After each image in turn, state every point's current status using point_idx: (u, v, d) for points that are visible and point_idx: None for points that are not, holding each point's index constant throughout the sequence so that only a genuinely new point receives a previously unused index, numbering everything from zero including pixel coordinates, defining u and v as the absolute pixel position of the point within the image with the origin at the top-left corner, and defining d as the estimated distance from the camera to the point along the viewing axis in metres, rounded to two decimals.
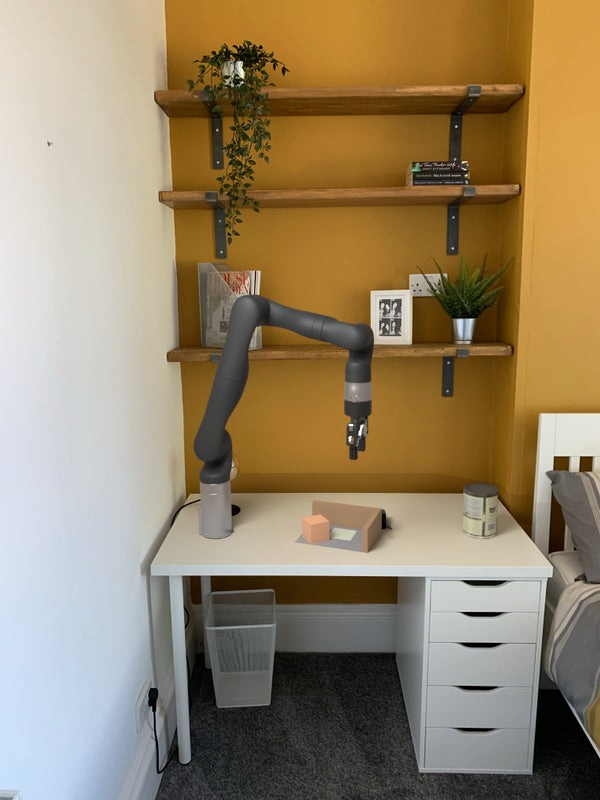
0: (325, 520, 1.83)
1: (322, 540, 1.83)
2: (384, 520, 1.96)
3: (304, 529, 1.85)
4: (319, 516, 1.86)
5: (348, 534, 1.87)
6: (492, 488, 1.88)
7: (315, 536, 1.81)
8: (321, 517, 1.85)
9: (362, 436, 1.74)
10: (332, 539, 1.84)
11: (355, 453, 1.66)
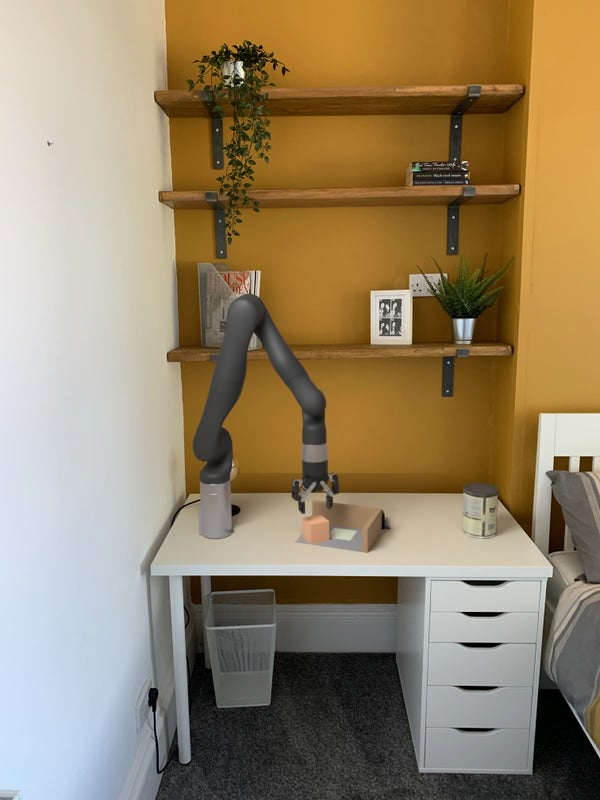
0: (325, 520, 1.83)
1: (322, 540, 1.83)
2: (383, 520, 1.96)
3: (304, 529, 1.85)
4: (319, 516, 1.86)
5: (348, 534, 1.87)
6: (492, 488, 1.88)
7: (315, 536, 1.81)
8: (321, 517, 1.85)
9: None
10: (332, 539, 1.84)
11: None
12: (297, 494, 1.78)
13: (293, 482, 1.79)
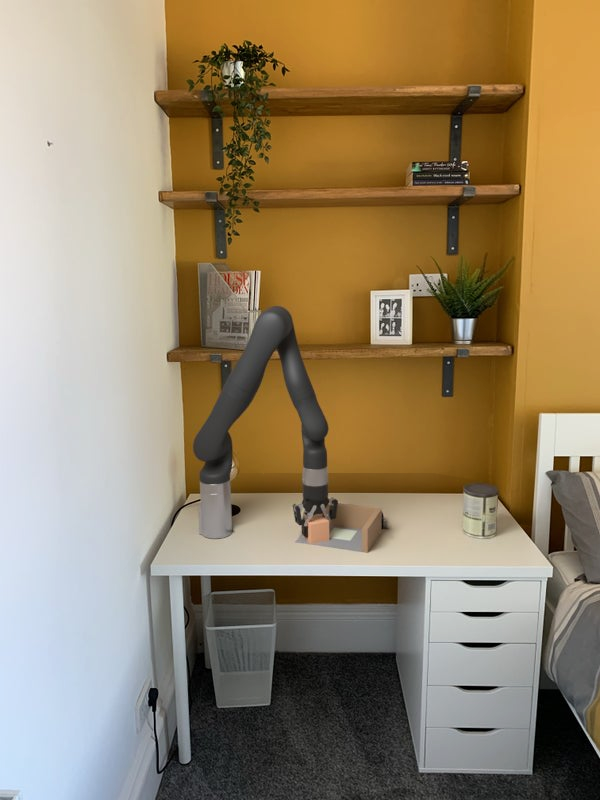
0: (325, 520, 1.83)
1: (322, 540, 1.83)
2: None
3: None
4: (319, 516, 1.86)
5: (348, 534, 1.87)
6: (492, 488, 1.88)
7: (315, 536, 1.81)
8: (321, 517, 1.85)
9: None
10: (332, 539, 1.84)
11: None
12: (300, 519, 1.80)
13: (294, 508, 1.81)
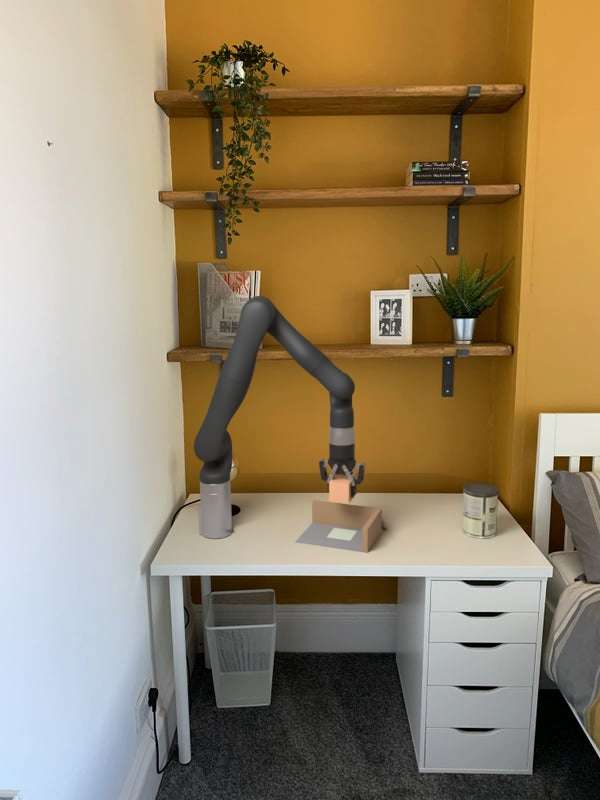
0: (347, 482, 1.82)
1: (341, 501, 1.83)
2: None
3: None
4: None
5: (348, 534, 1.87)
6: (492, 488, 1.88)
7: (333, 495, 1.83)
8: (348, 480, 1.84)
9: None
10: (332, 539, 1.84)
11: None
12: (322, 474, 1.85)
13: None
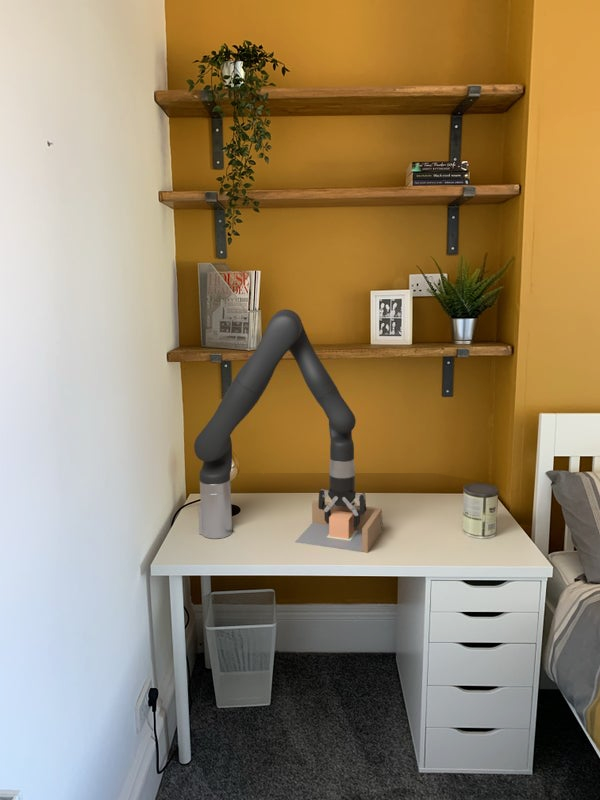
0: (347, 518, 1.84)
1: (341, 536, 1.85)
2: None
3: None
4: (349, 514, 1.87)
5: None
6: (492, 488, 1.88)
7: (333, 530, 1.85)
8: (348, 515, 1.86)
9: (329, 509, 1.88)
10: (332, 539, 1.84)
11: None
12: (320, 503, 1.87)
13: None
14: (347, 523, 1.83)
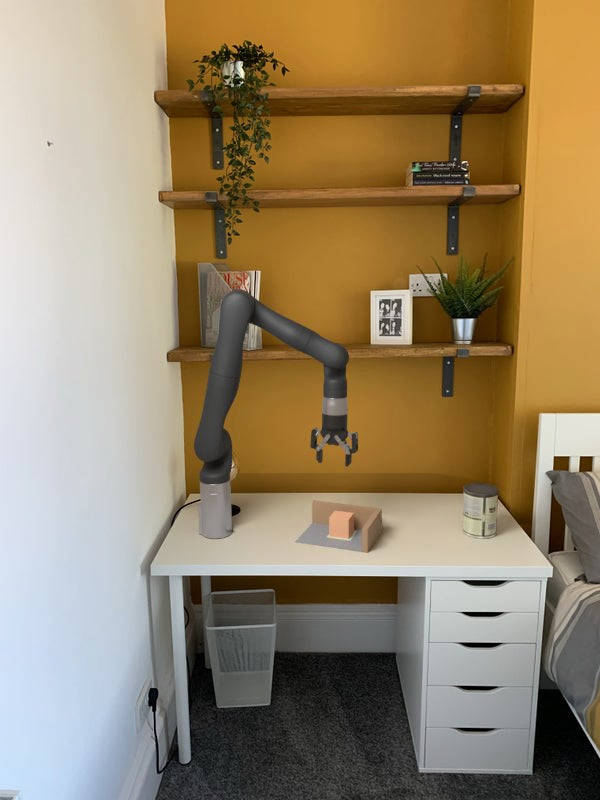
0: (347, 518, 1.84)
1: (341, 536, 1.85)
2: None
3: None
4: (349, 514, 1.87)
5: None
6: (492, 488, 1.88)
7: (333, 530, 1.85)
8: (348, 515, 1.86)
9: (321, 448, 1.87)
10: (332, 539, 1.84)
11: None
12: (313, 442, 1.86)
13: None
14: (347, 523, 1.83)
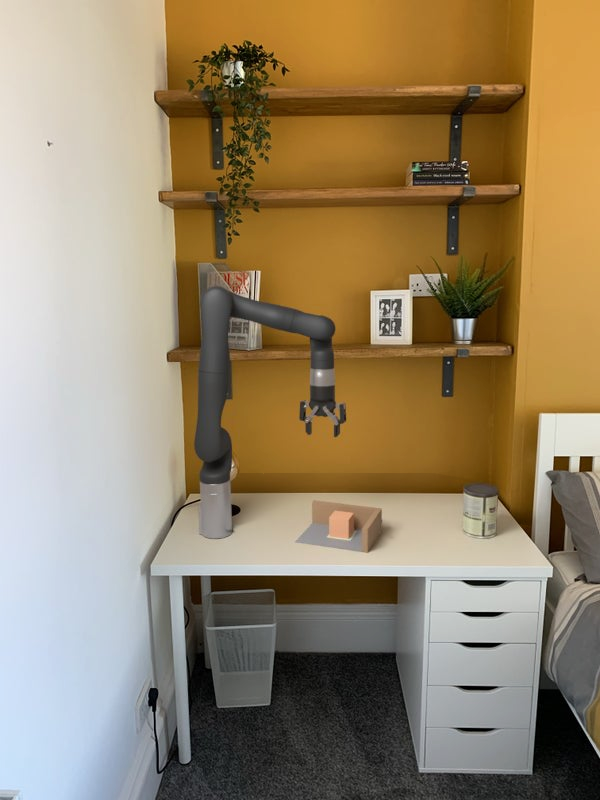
0: (347, 518, 1.84)
1: (341, 536, 1.85)
2: None
3: None
4: (349, 514, 1.87)
5: None
6: (492, 488, 1.88)
7: (333, 530, 1.85)
8: (348, 515, 1.86)
9: (310, 420, 1.90)
10: (332, 539, 1.84)
11: None
12: (301, 414, 1.89)
13: None
14: (347, 523, 1.83)
